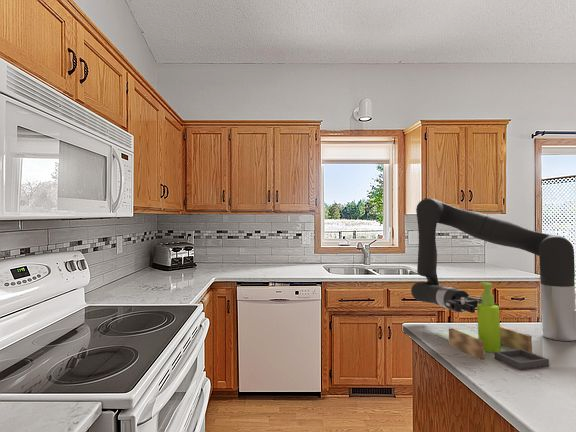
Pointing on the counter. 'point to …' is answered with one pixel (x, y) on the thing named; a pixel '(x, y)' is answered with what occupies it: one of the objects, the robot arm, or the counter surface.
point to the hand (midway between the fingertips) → (486, 308)
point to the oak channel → (477, 345)
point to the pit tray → (521, 359)
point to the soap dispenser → (489, 320)
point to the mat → (446, 334)
